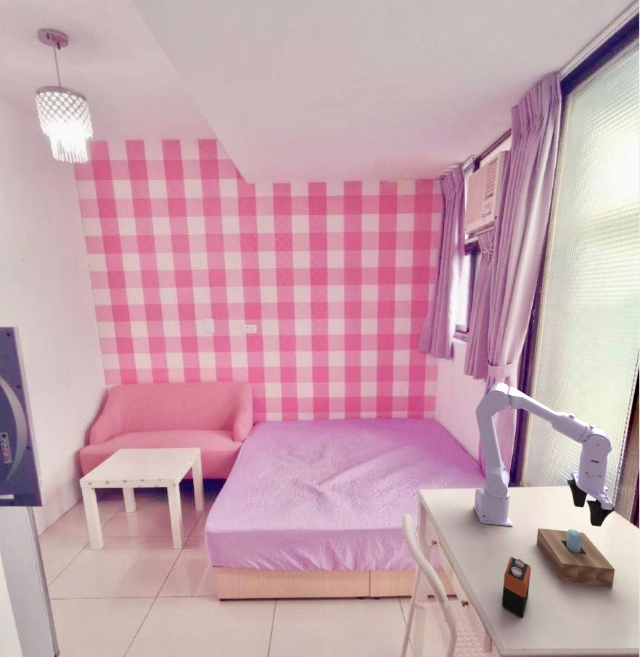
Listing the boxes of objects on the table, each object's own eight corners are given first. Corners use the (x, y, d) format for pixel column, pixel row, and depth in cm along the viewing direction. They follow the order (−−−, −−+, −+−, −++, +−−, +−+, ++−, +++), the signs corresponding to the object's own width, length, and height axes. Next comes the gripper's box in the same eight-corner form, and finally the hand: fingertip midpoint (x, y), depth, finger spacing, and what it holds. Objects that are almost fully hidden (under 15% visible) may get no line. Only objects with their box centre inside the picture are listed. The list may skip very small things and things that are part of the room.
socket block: (560, 580, 83) (561, 563, 82) (536, 543, 95) (538, 528, 94) (612, 586, 81) (614, 569, 81) (582, 548, 93) (583, 532, 92)
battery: (501, 607, 76) (504, 570, 75) (508, 587, 81) (511, 551, 80) (522, 619, 74) (526, 581, 72) (528, 598, 79) (531, 561, 77)
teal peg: (569, 564, 87) (572, 537, 85) (562, 554, 90) (565, 529, 88) (581, 565, 86) (584, 538, 85) (574, 555, 89) (577, 530, 88)
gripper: (628, 488, 82) (621, 536, 84) (591, 458, 96) (586, 500, 98) (597, 486, 83) (591, 533, 85) (565, 456, 98) (560, 497, 99)
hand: (586, 515), depth 92 cm, fingers open, 7 cm apart
